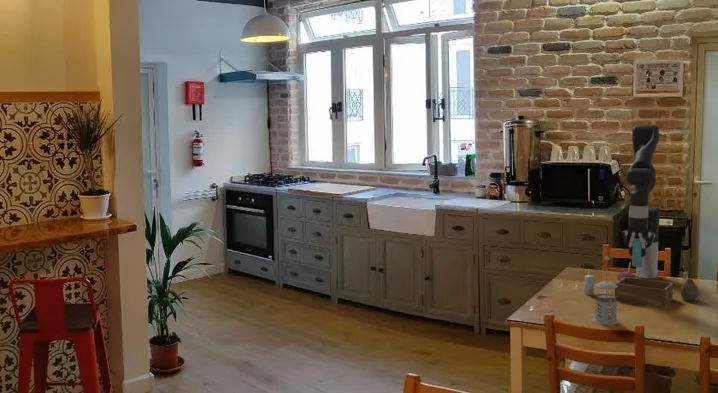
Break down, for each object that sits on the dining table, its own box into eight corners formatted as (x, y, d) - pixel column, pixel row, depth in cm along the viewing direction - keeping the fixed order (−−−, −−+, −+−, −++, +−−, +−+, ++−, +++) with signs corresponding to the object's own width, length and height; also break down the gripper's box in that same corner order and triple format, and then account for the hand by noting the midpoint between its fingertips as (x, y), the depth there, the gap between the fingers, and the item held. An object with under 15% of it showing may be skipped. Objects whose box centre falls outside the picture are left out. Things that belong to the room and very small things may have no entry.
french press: (613, 316, 278) (614, 253, 275) (625, 325, 266) (627, 260, 263) (588, 317, 277) (589, 254, 274) (599, 326, 266) (600, 260, 263)
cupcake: (632, 284, 325) (633, 259, 324) (638, 289, 317) (638, 263, 315) (613, 284, 326) (613, 259, 325) (618, 289, 318) (618, 263, 316)
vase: (700, 302, 295) (700, 281, 294) (682, 301, 296) (682, 281, 295) (695, 298, 302) (696, 277, 301) (678, 297, 303) (679, 277, 302)
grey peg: (586, 292, 314) (586, 274, 313) (595, 293, 312) (595, 275, 311) (583, 294, 311) (583, 276, 310) (592, 295, 308) (592, 277, 307)
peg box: (623, 292, 312) (624, 276, 311) (672, 298, 301) (673, 282, 300) (614, 299, 301) (615, 283, 300) (664, 306, 289) (665, 290, 289)
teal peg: (633, 264, 304) (634, 236, 302) (643, 265, 301) (644, 237, 300) (630, 266, 300) (631, 238, 299) (640, 267, 298) (641, 239, 297)
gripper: (658, 216, 297) (657, 256, 299) (623, 213, 305) (622, 253, 308) (654, 218, 291) (652, 259, 293) (618, 216, 299) (617, 256, 302)
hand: (637, 256), depth 300 cm, fingers closed on teal peg, 4 cm apart
